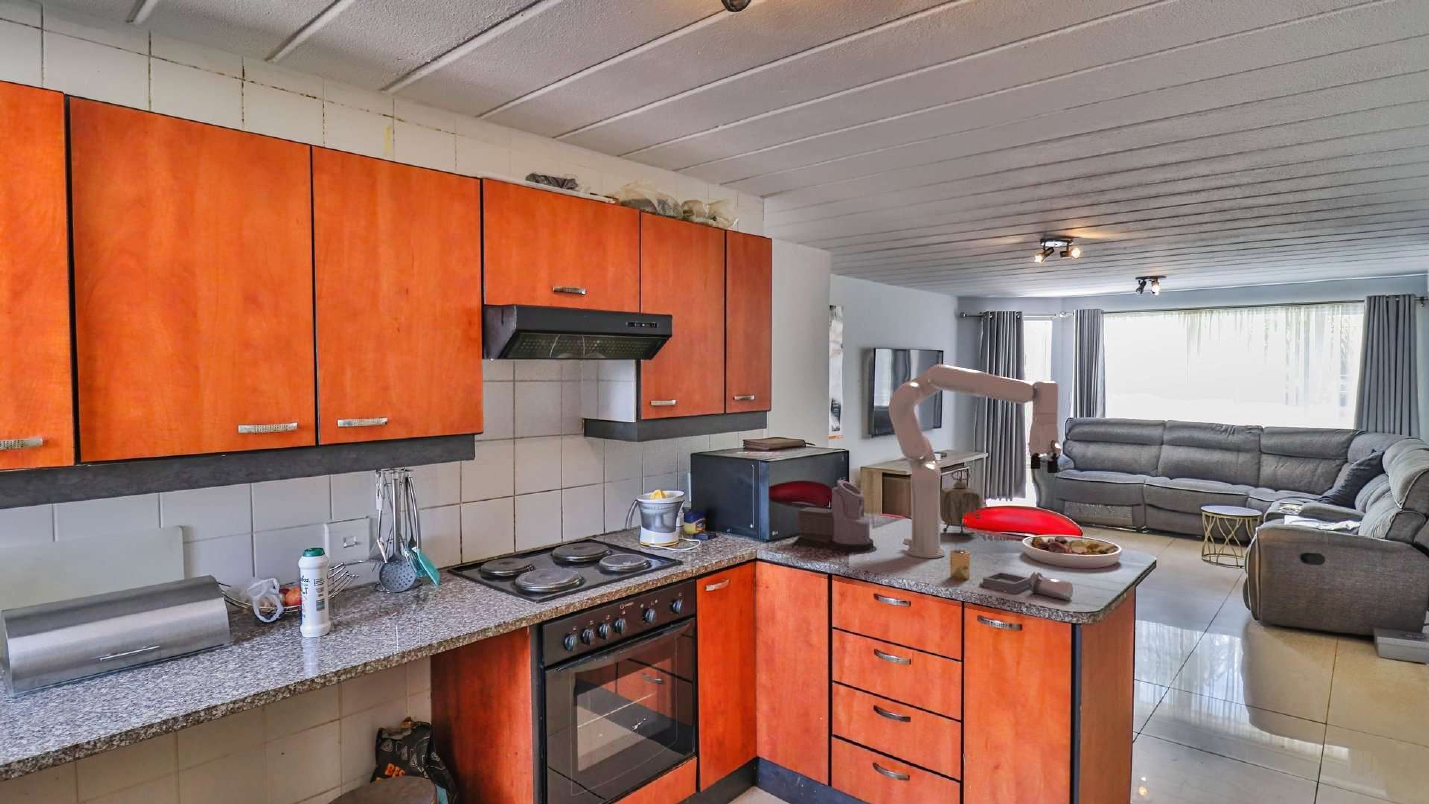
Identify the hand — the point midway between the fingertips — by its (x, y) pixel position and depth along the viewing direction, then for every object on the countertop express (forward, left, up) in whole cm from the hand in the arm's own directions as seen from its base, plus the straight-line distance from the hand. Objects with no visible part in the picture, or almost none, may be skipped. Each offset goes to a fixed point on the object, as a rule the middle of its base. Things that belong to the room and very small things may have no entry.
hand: (1043, 470), depth 243 cm
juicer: (-61, -32, -30) cm, 76 cm away
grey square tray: (+6, -35, -30) cm, 46 cm away
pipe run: (+19, -35, -30) cm, 50 cm away
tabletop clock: (-41, +18, -30) cm, 54 cm away
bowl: (+4, +11, -31) cm, 33 cm away
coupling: (-8, -37, -30) cm, 48 cm away
